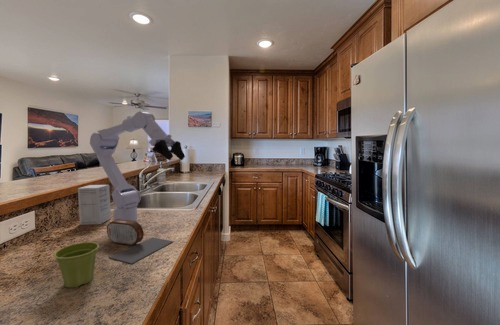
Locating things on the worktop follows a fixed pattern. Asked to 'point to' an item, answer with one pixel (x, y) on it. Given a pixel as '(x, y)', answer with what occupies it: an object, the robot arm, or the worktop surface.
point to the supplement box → (94, 204)
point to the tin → (125, 232)
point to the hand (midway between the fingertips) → (177, 158)
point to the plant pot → (77, 263)
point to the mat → (140, 250)
